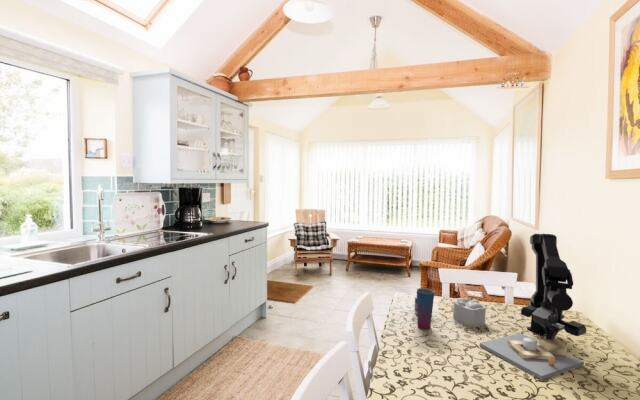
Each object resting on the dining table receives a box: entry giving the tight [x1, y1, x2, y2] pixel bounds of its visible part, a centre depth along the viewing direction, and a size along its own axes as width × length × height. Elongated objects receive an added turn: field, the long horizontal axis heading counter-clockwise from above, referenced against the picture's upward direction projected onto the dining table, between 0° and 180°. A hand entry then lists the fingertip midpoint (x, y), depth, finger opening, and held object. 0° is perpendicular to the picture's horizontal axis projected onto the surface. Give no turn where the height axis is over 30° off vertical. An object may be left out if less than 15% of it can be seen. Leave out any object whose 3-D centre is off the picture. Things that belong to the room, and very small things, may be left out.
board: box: [479, 332, 585, 381], centre depth 115 cm, size 22×22×5 cm
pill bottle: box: [413, 294, 417, 315], centre depth 150 cm, size 6×6×10 cm
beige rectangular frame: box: [507, 338, 568, 359], centre depth 115 cm, size 16×10×4 cm, turn 88°
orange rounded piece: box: [548, 355, 555, 367], centre depth 107 cm, size 2×2×3 cm
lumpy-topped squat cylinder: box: [452, 297, 487, 328], centre depth 144 cm, size 10×13×9 cm
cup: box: [416, 287, 435, 331], centre depth 135 cm, size 7×7×15 cm
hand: (549, 342), depth 118 cm, fingers closed
